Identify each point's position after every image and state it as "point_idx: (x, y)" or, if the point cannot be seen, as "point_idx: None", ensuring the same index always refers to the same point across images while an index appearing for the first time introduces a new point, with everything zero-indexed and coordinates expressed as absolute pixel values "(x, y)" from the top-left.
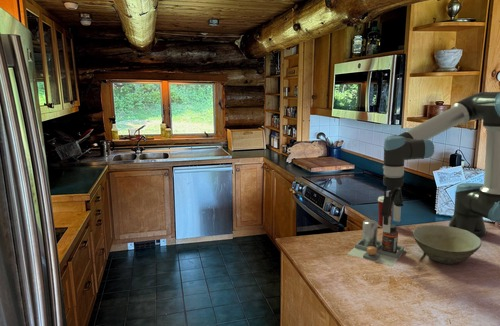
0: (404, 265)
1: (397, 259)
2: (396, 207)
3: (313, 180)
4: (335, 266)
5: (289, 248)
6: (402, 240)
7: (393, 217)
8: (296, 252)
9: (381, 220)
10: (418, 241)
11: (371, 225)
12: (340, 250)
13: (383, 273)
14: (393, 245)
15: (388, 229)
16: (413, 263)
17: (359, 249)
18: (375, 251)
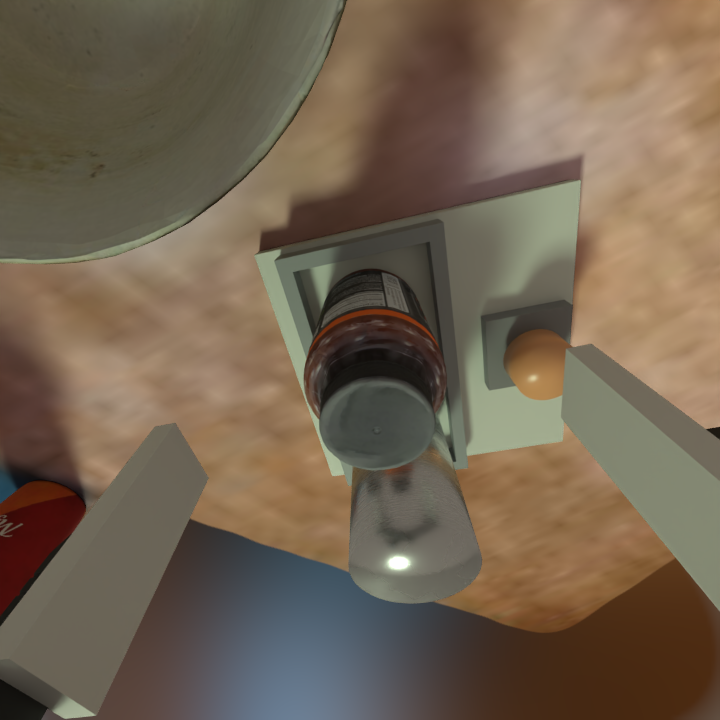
0: (468, 139)
1: (451, 209)
2: (76, 667)
3: None
4: (703, 409)
5: (614, 587)
6: (128, 348)
7: (190, 510)
8: (637, 560)
9: (61, 532)
10: (332, 40)
11: (468, 534)
12: (508, 479)
13: (674, 183)
14: (405, 293)
15: (618, 376)
16: (390, 104)
17: (467, 430)
18: (555, 338)
